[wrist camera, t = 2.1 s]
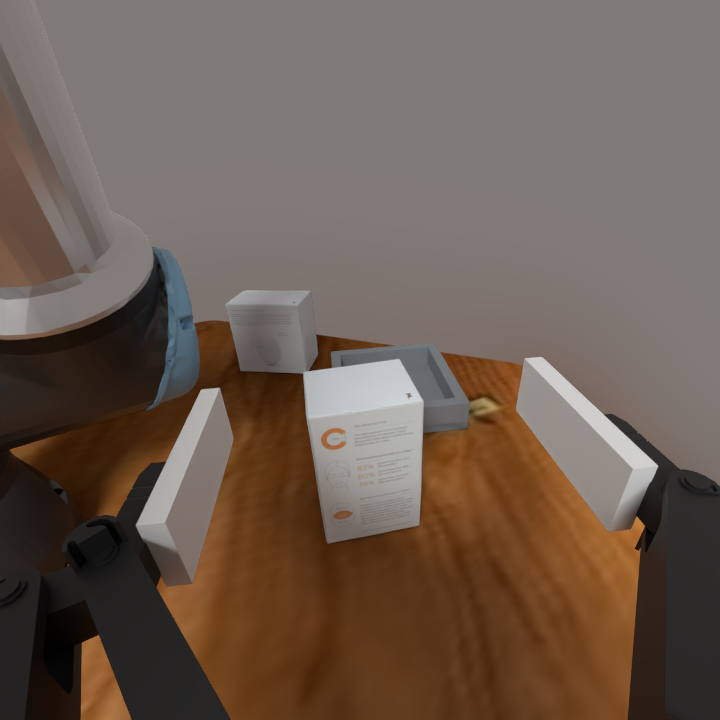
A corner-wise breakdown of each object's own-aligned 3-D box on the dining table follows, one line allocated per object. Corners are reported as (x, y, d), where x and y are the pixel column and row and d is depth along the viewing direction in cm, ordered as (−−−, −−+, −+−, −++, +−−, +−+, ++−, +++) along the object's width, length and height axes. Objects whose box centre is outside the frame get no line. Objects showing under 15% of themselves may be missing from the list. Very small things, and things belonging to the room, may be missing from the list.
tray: (337, 441, 42) (335, 416, 40) (333, 373, 55) (331, 351, 53) (466, 428, 43) (469, 403, 41) (433, 364, 55) (434, 342, 54)
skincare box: (319, 353, 60) (312, 288, 55) (307, 375, 55) (298, 305, 50) (256, 350, 62) (243, 287, 57) (238, 371, 56) (222, 304, 51)
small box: (400, 472, 38) (401, 356, 31) (421, 527, 32) (426, 400, 26) (318, 486, 37) (301, 369, 30) (325, 546, 31) (306, 419, 25)
